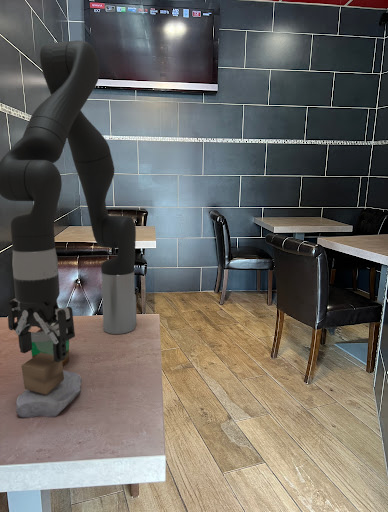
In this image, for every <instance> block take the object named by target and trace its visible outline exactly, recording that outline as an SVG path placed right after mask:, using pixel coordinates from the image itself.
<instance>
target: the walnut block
mask: <svg viewBox="0 0 388 512" xmlns="http://www.w3.org/2000/svg"><path fill="white" fill-rule="evenodd" d="M63 370H64V367H63V365H62V360H61V361H60V362H55V361H54V355H51V354H46V353H42V352H40V353H39V354H37V355H36V356H35V357H33V358H32V357H31V358H30V359H29V360H27V361H26V362H25V363H23V364H22V365H21V373H22V380H23V386H24V387H23V388H24V390H26V389H27V390H31V391H34V392H38V393H42V394H48V393H49V392H50V391H51V390H52V389H53V388H55V387H56V386H57V385H58V384H59V383H60V382H62V381H63V380H64V374H63Z"/></svg>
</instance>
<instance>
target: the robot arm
mask: <svg viewBox="0 0 388 512" xmlns="http://www.w3.org/2000/svg"><path fill="white" fill-rule="evenodd" d="M39 61H40V67H41V71H42V74H43V77H44V81H45V83H46V86H47V88H48V91H49V93H50V95H49V96H48V97H47V98H46V99H44V100H43V101H42V102H41V103H40V104H39V105H38V106H37V108H35V110H34V111H33V113H32V115H31V116H30V117H29V121H28V122H27V125H26V128H25V129H24V130H25V131H24V132H23V135H22V137H20V139H19V140H18V141H17V142H16V143H15V144H14V145H13V146H12V147H11V149H9V151H7V153H6V154H5V155H4V156H3V157H2V158H1V160H0V196H1V197H2V198H3V199H5V200H7V201H12V202H33V206H32V209H31V212H30V213H28V214H22V215H18V216H15V217H14V218H13V219H12V220H11V222H10V234H11V244H12V261H11V262H12V265H11V266H12V278H13V285H14V286H13V287H14V297H15V298H13V299H10V300H7V302H6V303H7V304H6V305H7V306H6V307H7V326H8V329H9V331H14V332H15V334H16V335H17V337H18V347H19V349H20V353H22V354H27V353H28V352H30V351H31V350H32V339H31V332H32V331H30V330H31V328H32V327H37V328H39V329H43V330H44V332H45V333H46V334H48V335H49V336H50V337H51V339H52V341H53V342H54V343H53V353H54V361H55V362H60V361H61V360H63V359H65V357H66V355H67V352H66V341H68V340H69V341H70V340H72V339H73V338H75V337H76V332H75V331H76V330H75V324H74V323H75V322H74V313H73V308H72V306H69V305H68V306H66V307H59V304H58V298H59V297H60V293H61V292H60V280H59V279H60V277H59V265H58V255H57V251H56V250H57V249H56V241H55V223H56V222H55V221H56V215H57V211H58V204H59V200H60V197H61V193H62V192H61V191H62V185H63V181H62V176H61V173H60V171H59V169H58V167H57V166H56V165H55V164H54V163H56V162H57V161H59V160H60V158H61V156H62V153H63V150H64V148H65V145H66V143H68V145H69V149H70V152H71V153H70V154H71V157H72V160H73V164H74V167H75V170H76V173H77V175H78V179H79V182H80V184H81V188H82V191H83V195H84V199H85V202H86V207H87V211H88V216H89V219H90V220H89V221H90V224H91V231H92V234H93V238H94V241H95V242H96V244H97V245H98V246H99V247H101V248H106V249H117V255H116V256H115V257H113V258H109V259H106V260H104V261H103V262H101V264H100V266H101V267H100V268H101V269H100V271H101V272H100V273H101V294H102V300H101V301H102V323H103V324H102V327H103V331H104V332H105V333H108V334H113V335H121V334H127V333H130V332H132V331H134V330H135V328H136V325H138V324H137V295H136V294H135V291H136V290H135V262H136V239H137V231H136V223H135V221H134V219H133V218H132V217H131V216H129V215H110V214H109V213H108V210H107V204H106V199H107V195H108V192H109V190H110V187H111V184H112V182H113V179H114V176H115V165H114V160H113V157H112V152H111V148H110V144H109V143H108V141H107V139H106V138H105V137H104V136H103V134H102V133H101V132H100V131H99V130H98V129H97V128H96V127H95V125H93V124H92V122H91V121H90V120H89V119H88V118H87V117H86V116H85V114H84V112H83V111H82V109H83V107H84V105H85V104H86V103H87V101H88V99H89V97H90V96H91V95H92V93H93V91H94V90H95V88H96V86H97V83H98V81H99V77H100V63H99V58H98V55H97V53H96V51H95V49H94V47H93V46H92V45H91V44H90V43H89V42H87V41H85V40H66V41H60V42H59V41H58V42H50V43H45V44H43V45H42V47H40V52H39ZM53 322H54V323H55V326H53V327H50V325H51V324H52V323H53ZM66 329H67V330H68V333H67V332H66ZM55 331H57V332H58V333H59V336H57V334H56V333H55Z"/></svg>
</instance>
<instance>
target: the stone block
mask: <svg viewBox="0 0 388 512" xmlns="http://www.w3.org/2000/svg"><path fill="white" fill-rule="evenodd" d="M63 374H64V380H63V381H62V382H60V383H59V384H58V385H57V386H56V387H55V388H53V389H52V390H51V391H50V392H49V393H48V394H42V393H38V392H34V391H31V390H27V389H24V391H23V392H22V394H19V395H18V397H17V398H16V403H15V405H16V410H15V412H16V414H17V415H18V416H19V418H29V419H30V418H37V417H48V418H55V417H57V416H58V415H60V413H61V412H62V411H63V410H65V408H67V406H68V405H69V404H70V403H72V402H73V401H74V399H75V398H77V396H78V395H79V394H80V393H81V383H82V378H81V375H79V374H78V373H76V372H75V371H69V370H68V371H67V370H64V369H63Z"/></svg>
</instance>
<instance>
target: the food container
mask: <svg viewBox="0 0 388 512" xmlns="http://www.w3.org/2000/svg"><path fill="white" fill-rule="evenodd" d="M53 326H55V323H54V322H53V323H52V324H51V325H50V327H53ZM30 332H31V339H32V350H30V351H31V359H32V358H33V357H35V356H36V355H37V354H39V353H40V352H42V353H46V354H51V355H54V353H53V343H54V342H53V341H52V339H51V337H50V336H49V335H48V334H46V333H45V332H44V330H43V329H41V328H39V329H38V330H37V331H36V332H35V331H33V332H32V331H30ZM66 332H67V333H68V330H67V329H66ZM55 333H56V334H57V336H59V333H58V332H57V331H55ZM66 352H67V355H66V357H65V359H63V360H62V365H63V368H64V367H65V366H66V365H68V364H69V361H70V360H69V359H70V357H69V355H70V340H68V341H66Z"/></svg>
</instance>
